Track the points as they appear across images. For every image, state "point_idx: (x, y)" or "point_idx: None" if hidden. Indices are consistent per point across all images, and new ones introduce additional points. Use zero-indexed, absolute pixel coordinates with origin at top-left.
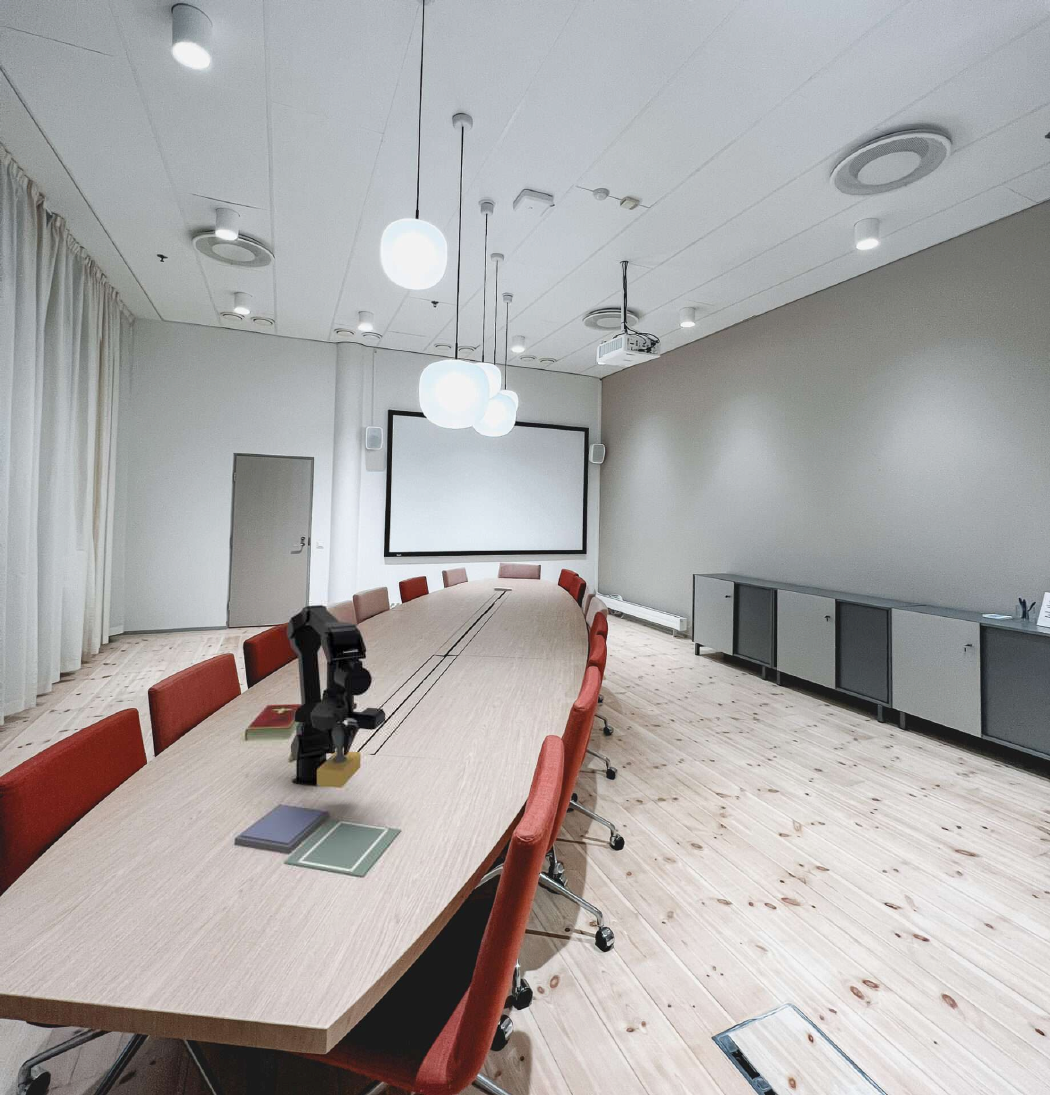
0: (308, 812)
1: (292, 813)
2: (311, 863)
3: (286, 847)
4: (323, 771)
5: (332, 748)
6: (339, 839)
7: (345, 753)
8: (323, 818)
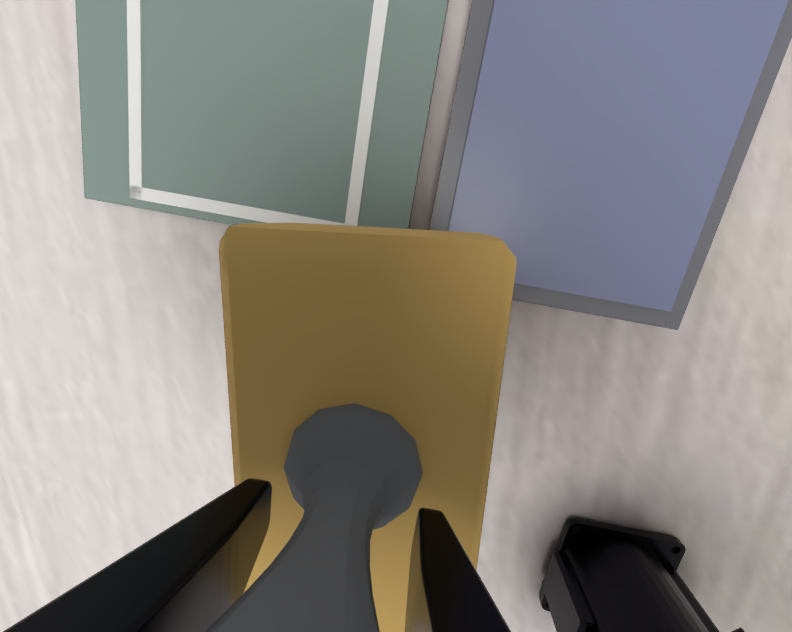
0: None
1: (586, 238)
2: None
3: None
4: (434, 235)
5: (419, 565)
6: (299, 83)
7: (235, 490)
8: None
